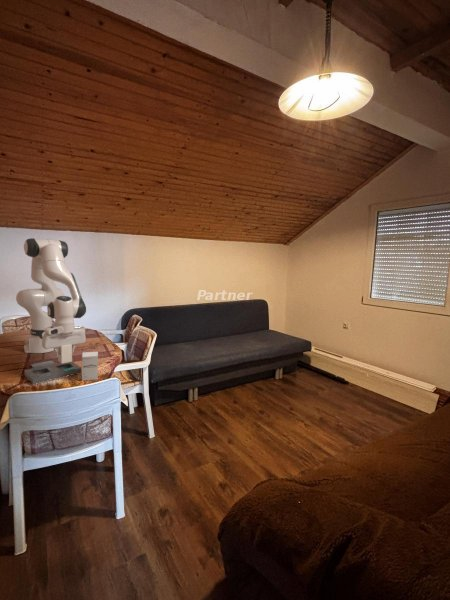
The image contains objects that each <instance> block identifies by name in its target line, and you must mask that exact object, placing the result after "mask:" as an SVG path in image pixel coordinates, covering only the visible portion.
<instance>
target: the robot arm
mask: <svg viewBox="0 0 450 600" xmlns="http://www.w3.org/2000/svg"><path fill="white" fill-rule="evenodd" d="M68 246H69V245H68V244H67V242H66V241H64V240H57V239H51V238H34V237H31V238H27V239H26V240H25V241H24V244H23V250H24V253H25V255H26V256H27V257H30V258H31V268H30V269H31V270H30V272H31V273H30V274H31V275H30V278H31V280H32V282H34V283H37V284H39V285H41V287H40V288H27V289H22V290H19V291H18V292H17V294H16V297H15V301H16V303H17V305H18V306H20V307H21V308H23V309H25V310H26V312H27V313H28V314H29V317H30V323H31V324H30V325H31V327H30V335H29V336H28V338H27V339H25V341H24V343H25V344H24V345H23V350H24V353H25V354H43V353H49V352H53V351H55V354H56V356H57V357H58V355H60V351H58V347H61V346H65V345H72V354H74V350H75V348H76V346H77V345H80V344H85V343H86V341H87V340H86V339H87V337H86V327H84V326H83V325H80V326H79V325H78V326H75V320H74V319H81V318H83V316H85V315H86V313H87V306H86V304H85V302H84V299H83V296H82V294H81V291H80V289H79V285H78V283H77V281H76V277H75V275H74V274H73V272H70V271H69V269H68V268H67V266H66V262H65V258H66V257H67V256H68V254H69V247H68ZM55 282H59V283H61V284H63V285H65V286H66V287H67V288H68V290H69V293H70V295H71V296H69V295H68V296H67V295H65V294H64V292H63V290H62V289H60V288H58V287H57V285H56V284H55ZM42 307H47V309H46V310H47V311H46V310H45V311H44V310H42ZM53 320H55V321H54V324H53Z"/></svg>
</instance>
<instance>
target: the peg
mask: <svg viewBox="0 0 450 600" xmlns="http://www.w3.org/2000/svg"><path fill="white" fill-rule="evenodd" d="M57 351H60V355H58V356H57V359H58V360H57V361H58V363H67V362H73V353H72V345H65V346H61V347H58V349H57Z"/></svg>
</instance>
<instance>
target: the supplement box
mask: <svg viewBox="0 0 450 600" xmlns="http://www.w3.org/2000/svg"><path fill="white" fill-rule="evenodd" d="M98 365H99V351H88V352H87V351H84V352H82V353H81V382H84V381H96V380H98V378H99V377H98V376H99V374H98V373H99V370H98V369H99V366H98Z"/></svg>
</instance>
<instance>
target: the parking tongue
mask: <svg viewBox="0 0 450 600" xmlns="http://www.w3.org/2000/svg"><path fill="white" fill-rule="evenodd" d="M52 364H57V363H56V362H54V360H47V361H42V362H37V363H33V364H31V365H30V366H32V367H31V368H37V367H42V366H47V365H52Z"/></svg>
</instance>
